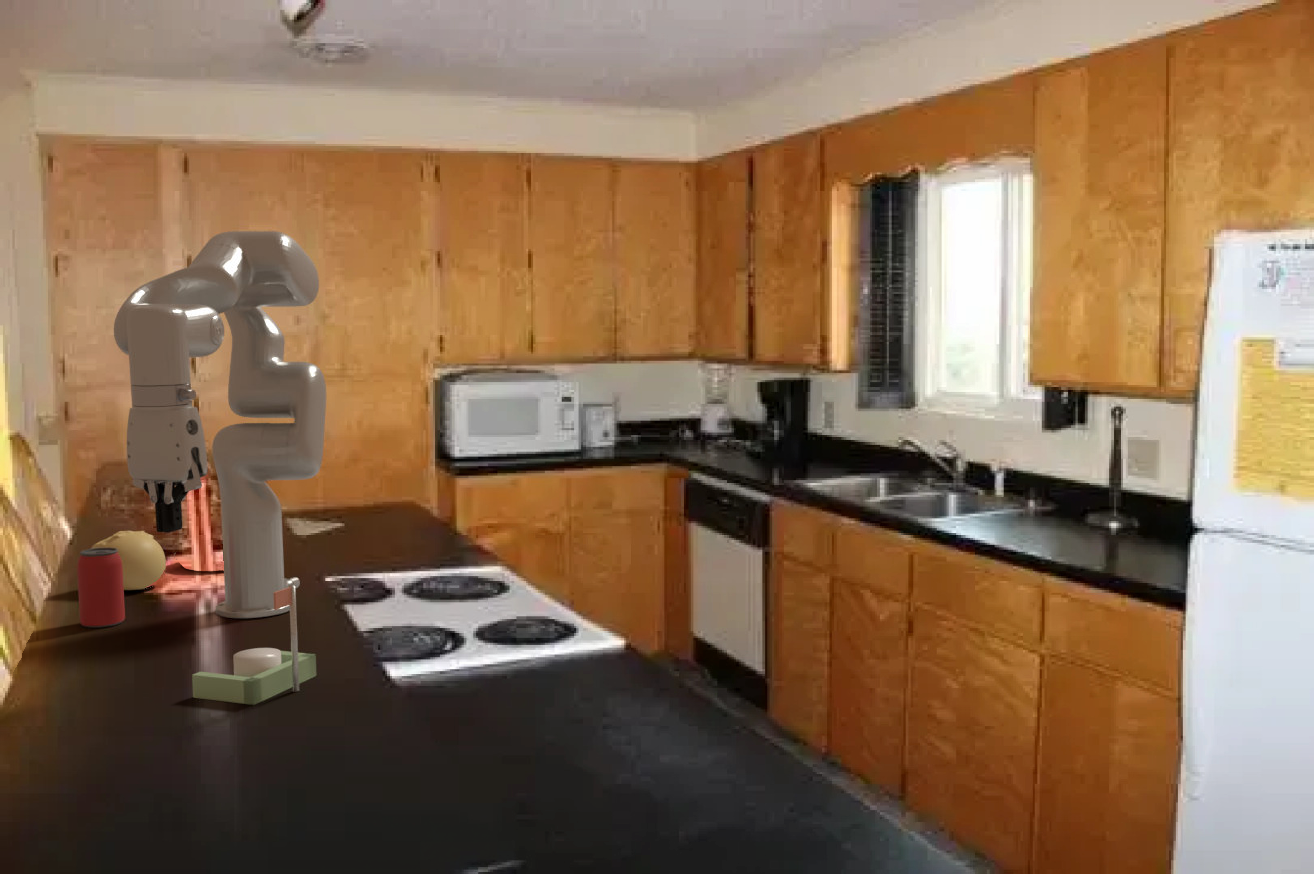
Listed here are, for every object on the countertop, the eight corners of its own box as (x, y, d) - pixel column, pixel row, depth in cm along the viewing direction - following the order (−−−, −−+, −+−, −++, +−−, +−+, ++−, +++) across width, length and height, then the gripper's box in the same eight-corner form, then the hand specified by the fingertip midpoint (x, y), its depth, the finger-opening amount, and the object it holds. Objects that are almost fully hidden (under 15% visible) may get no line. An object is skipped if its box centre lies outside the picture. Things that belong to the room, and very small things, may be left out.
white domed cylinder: (257, 678, 160) (255, 645, 159) (291, 683, 157) (290, 650, 157) (224, 690, 154) (223, 657, 154) (260, 696, 152) (258, 662, 151)
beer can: (107, 629, 186) (103, 555, 185) (71, 627, 187) (66, 553, 186) (134, 619, 192) (130, 547, 191) (98, 617, 194) (94, 546, 192)
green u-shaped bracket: (258, 669, 163) (254, 570, 162) (328, 676, 160) (324, 575, 158) (193, 697, 151) (188, 590, 150) (266, 706, 147) (262, 596, 146)
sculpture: (143, 579, 224) (140, 523, 222) (178, 586, 216) (176, 529, 215) (84, 590, 214) (80, 532, 213) (119, 598, 207) (116, 538, 206)
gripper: (225, 396, 160) (232, 528, 162) (138, 394, 165) (146, 522, 167) (187, 401, 153) (195, 539, 155) (96, 398, 158) (105, 532, 160)
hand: (169, 530), depth 161 cm, fingers closed
